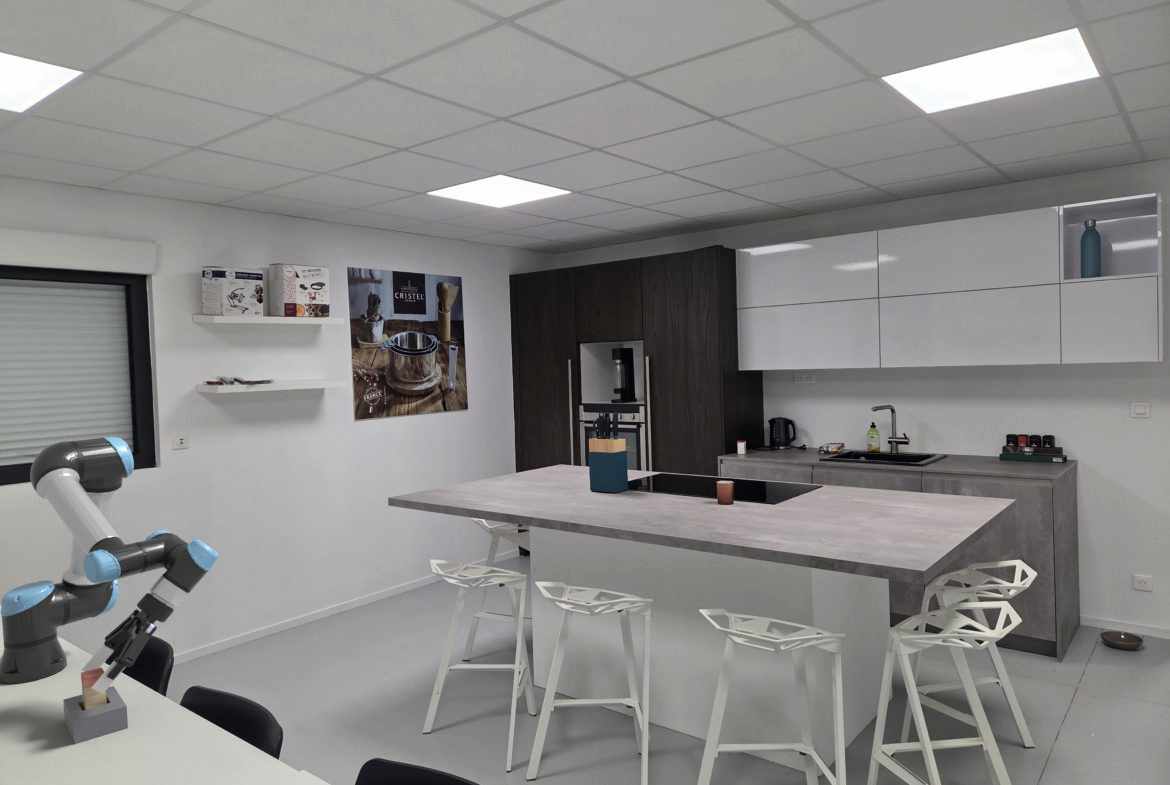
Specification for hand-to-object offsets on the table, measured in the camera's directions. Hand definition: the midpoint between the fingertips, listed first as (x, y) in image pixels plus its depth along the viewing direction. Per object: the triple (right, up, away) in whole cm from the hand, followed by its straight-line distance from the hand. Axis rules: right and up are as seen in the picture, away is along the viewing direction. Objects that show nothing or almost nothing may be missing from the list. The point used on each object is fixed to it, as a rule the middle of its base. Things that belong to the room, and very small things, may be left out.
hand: (91, 681), depth 171 cm
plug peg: (0, -10, +1) cm, 10 cm away
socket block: (0, -10, +1) cm, 10 cm away
